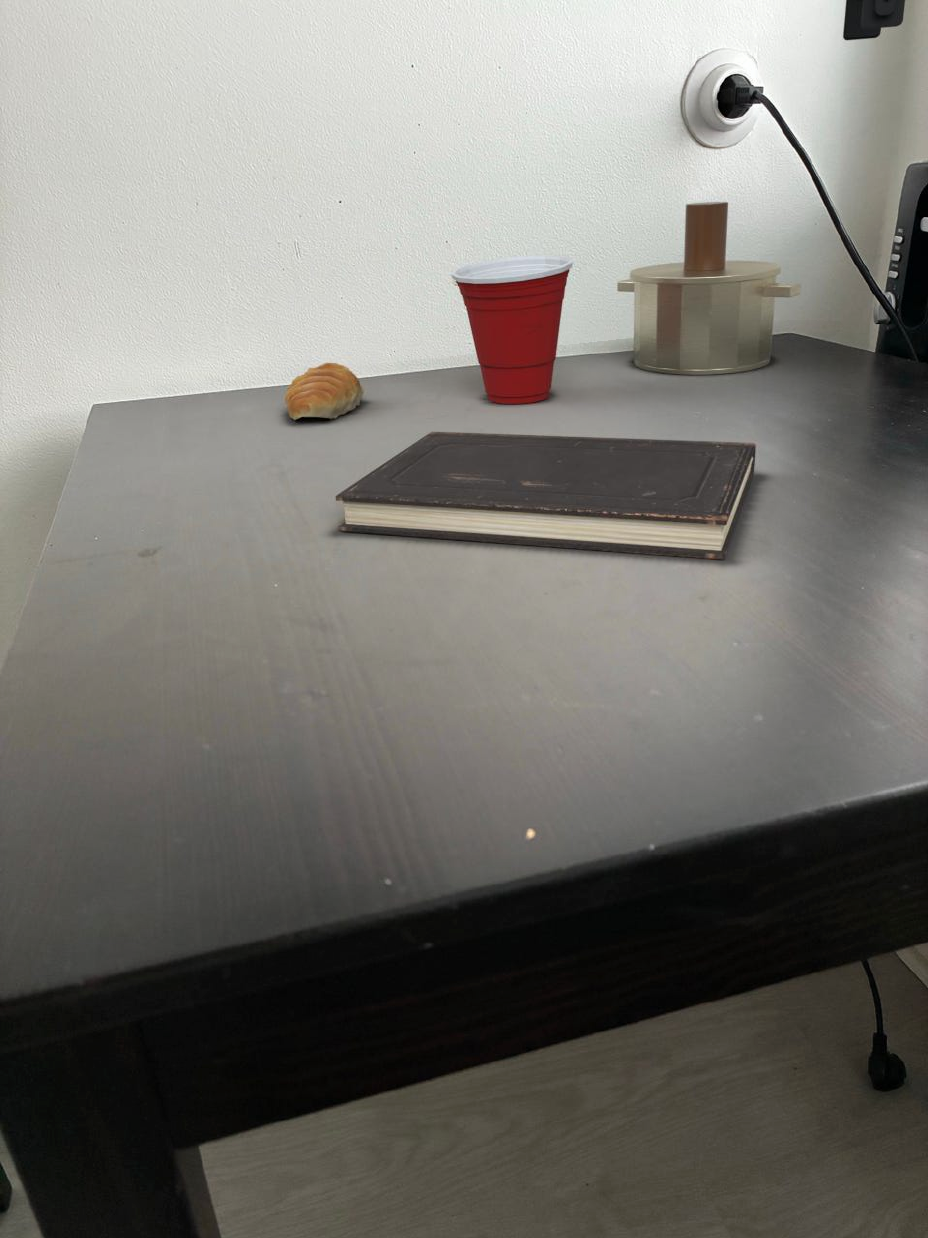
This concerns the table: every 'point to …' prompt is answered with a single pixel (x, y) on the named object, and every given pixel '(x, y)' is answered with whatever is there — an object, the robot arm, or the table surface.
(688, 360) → the pot
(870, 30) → the robot arm
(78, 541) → the table surface
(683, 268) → the lid
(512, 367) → the plastic cup
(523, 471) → the hardcover book
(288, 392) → the pastry
